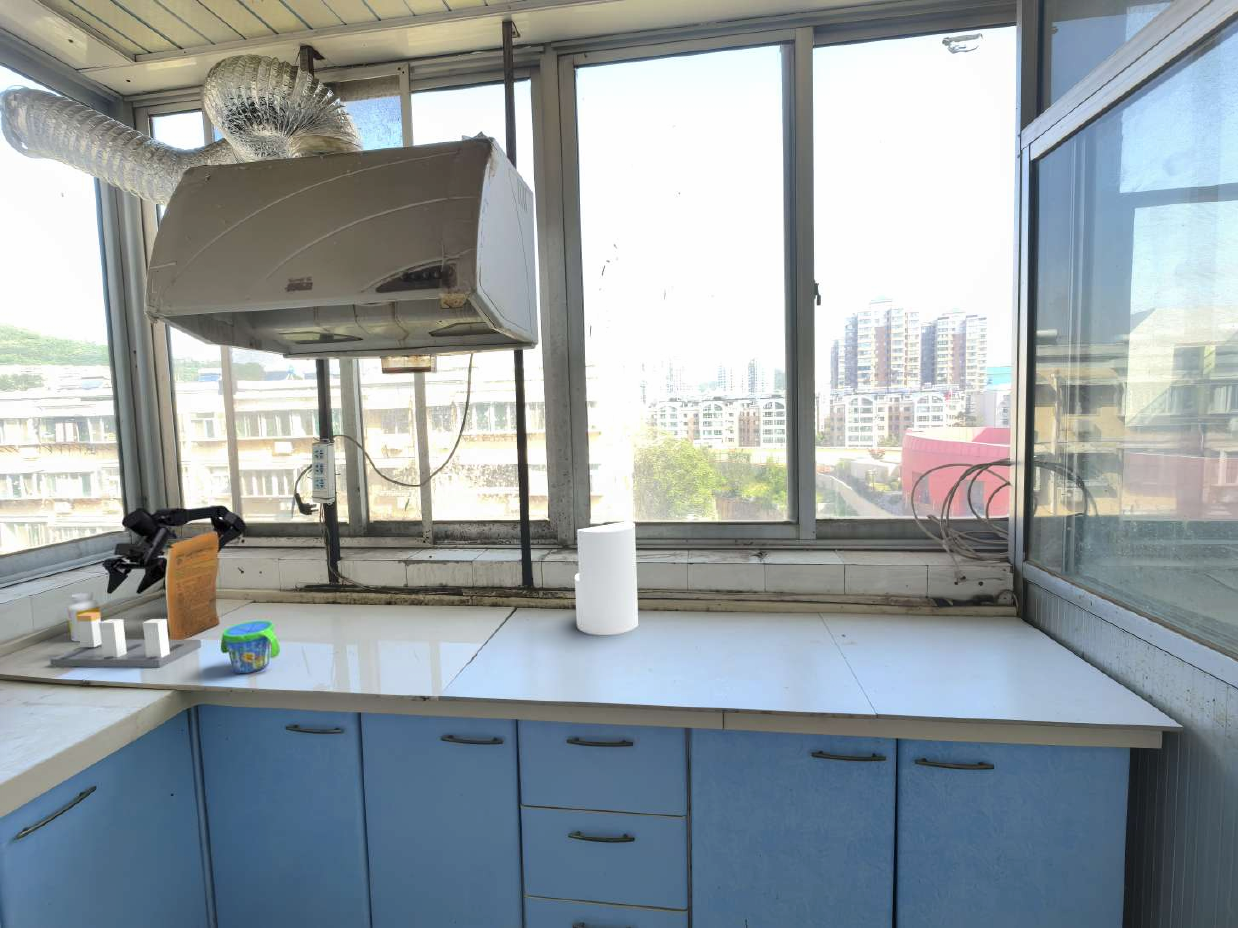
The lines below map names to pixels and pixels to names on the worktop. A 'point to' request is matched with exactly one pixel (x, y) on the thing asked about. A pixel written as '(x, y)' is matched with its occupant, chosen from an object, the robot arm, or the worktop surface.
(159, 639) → the grey plate with uprights
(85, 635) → the block
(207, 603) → the pancake mix bag
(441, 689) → the worktop surface
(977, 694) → the worktop surface
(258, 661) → the snack cup
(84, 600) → the supplement bottle
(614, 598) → the cylinder
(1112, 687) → the worktop surface
